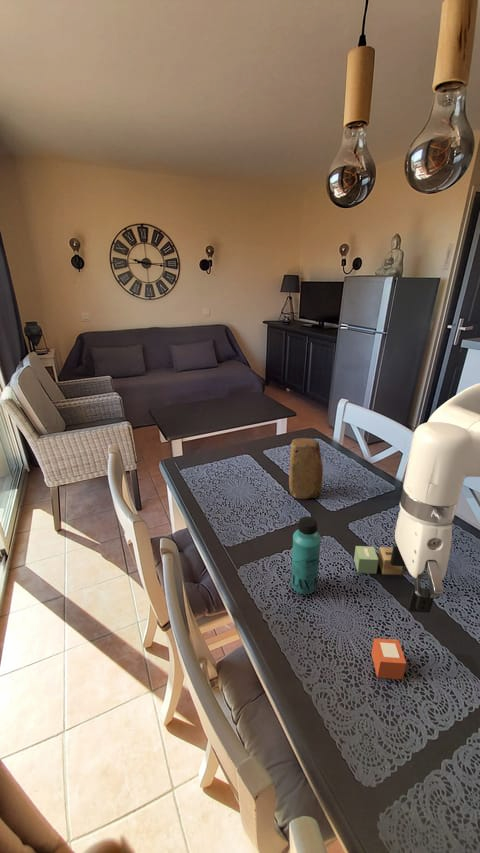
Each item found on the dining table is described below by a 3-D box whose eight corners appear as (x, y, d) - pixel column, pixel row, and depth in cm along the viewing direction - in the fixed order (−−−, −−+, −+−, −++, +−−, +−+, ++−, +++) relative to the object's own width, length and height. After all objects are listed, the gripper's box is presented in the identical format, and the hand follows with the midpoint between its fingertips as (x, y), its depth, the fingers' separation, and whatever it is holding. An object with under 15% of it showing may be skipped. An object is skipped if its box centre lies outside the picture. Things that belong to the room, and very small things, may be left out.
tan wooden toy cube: (395, 561, 94) (398, 547, 92) (401, 575, 89) (404, 560, 88) (377, 560, 94) (379, 546, 92) (382, 574, 90) (384, 559, 88)
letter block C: (395, 655, 71) (398, 639, 69) (402, 679, 67) (406, 663, 65) (371, 653, 72) (374, 637, 70) (377, 677, 67) (380, 661, 65)
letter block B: (371, 560, 94) (374, 546, 92) (376, 573, 90) (378, 559, 88) (353, 559, 95) (355, 545, 93) (357, 573, 90) (359, 558, 89)
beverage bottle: (284, 587, 87) (286, 520, 79) (302, 573, 91) (306, 508, 83) (305, 604, 82) (309, 535, 74) (323, 589, 86) (329, 521, 78)
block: (288, 499, 120) (290, 445, 112) (288, 487, 127) (290, 435, 119) (321, 501, 119) (325, 447, 111) (320, 488, 125) (323, 436, 117)
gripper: (483, 542, 47) (454, 634, 53) (431, 474, 62) (413, 551, 69) (423, 539, 47) (401, 630, 54) (386, 472, 63) (373, 549, 70)
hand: (408, 586), depth 62 cm, fingers open, 9 cm apart
